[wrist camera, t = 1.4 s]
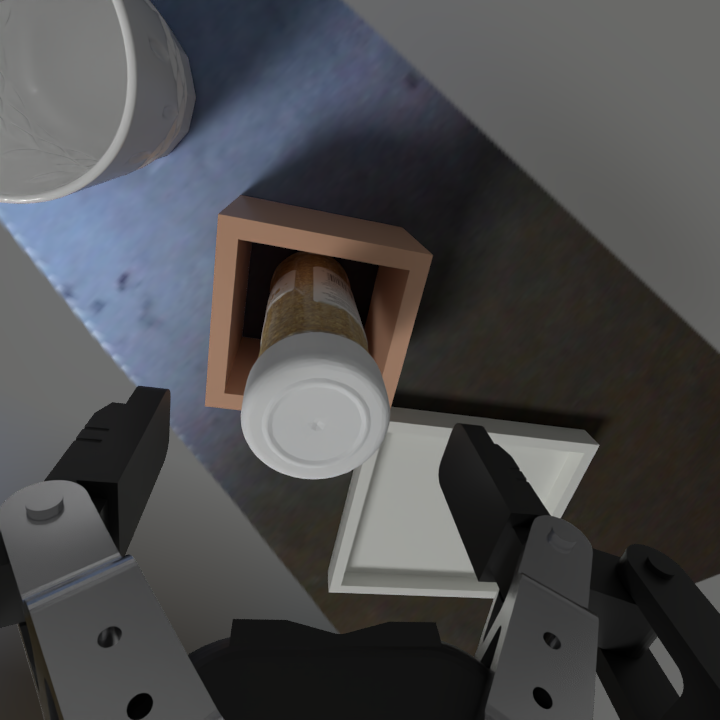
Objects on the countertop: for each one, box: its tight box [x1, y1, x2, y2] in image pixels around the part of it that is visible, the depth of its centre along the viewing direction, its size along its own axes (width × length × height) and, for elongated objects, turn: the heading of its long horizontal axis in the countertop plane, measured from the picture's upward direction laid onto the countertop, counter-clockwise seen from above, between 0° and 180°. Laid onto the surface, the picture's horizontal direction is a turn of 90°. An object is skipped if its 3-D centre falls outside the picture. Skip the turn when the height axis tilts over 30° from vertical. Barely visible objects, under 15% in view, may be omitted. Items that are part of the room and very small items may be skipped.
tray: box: [328, 407, 599, 598], centre depth 33 cm, size 16×16×2 cm
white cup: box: [0, 0, 196, 204], centre depth 15 cm, size 8×8×10 cm
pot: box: [205, 195, 433, 410], centre depth 22 cm, size 9×9×6 cm
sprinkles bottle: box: [241, 251, 390, 479], centre depth 19 cm, size 5×4×13 cm
